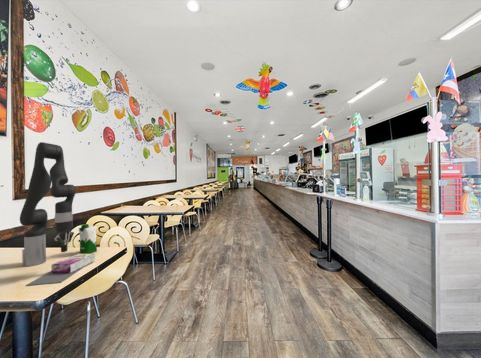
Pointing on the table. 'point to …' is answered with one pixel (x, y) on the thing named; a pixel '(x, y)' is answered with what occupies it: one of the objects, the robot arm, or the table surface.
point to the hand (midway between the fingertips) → (64, 251)
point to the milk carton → (87, 239)
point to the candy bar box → (73, 263)
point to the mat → (52, 278)
